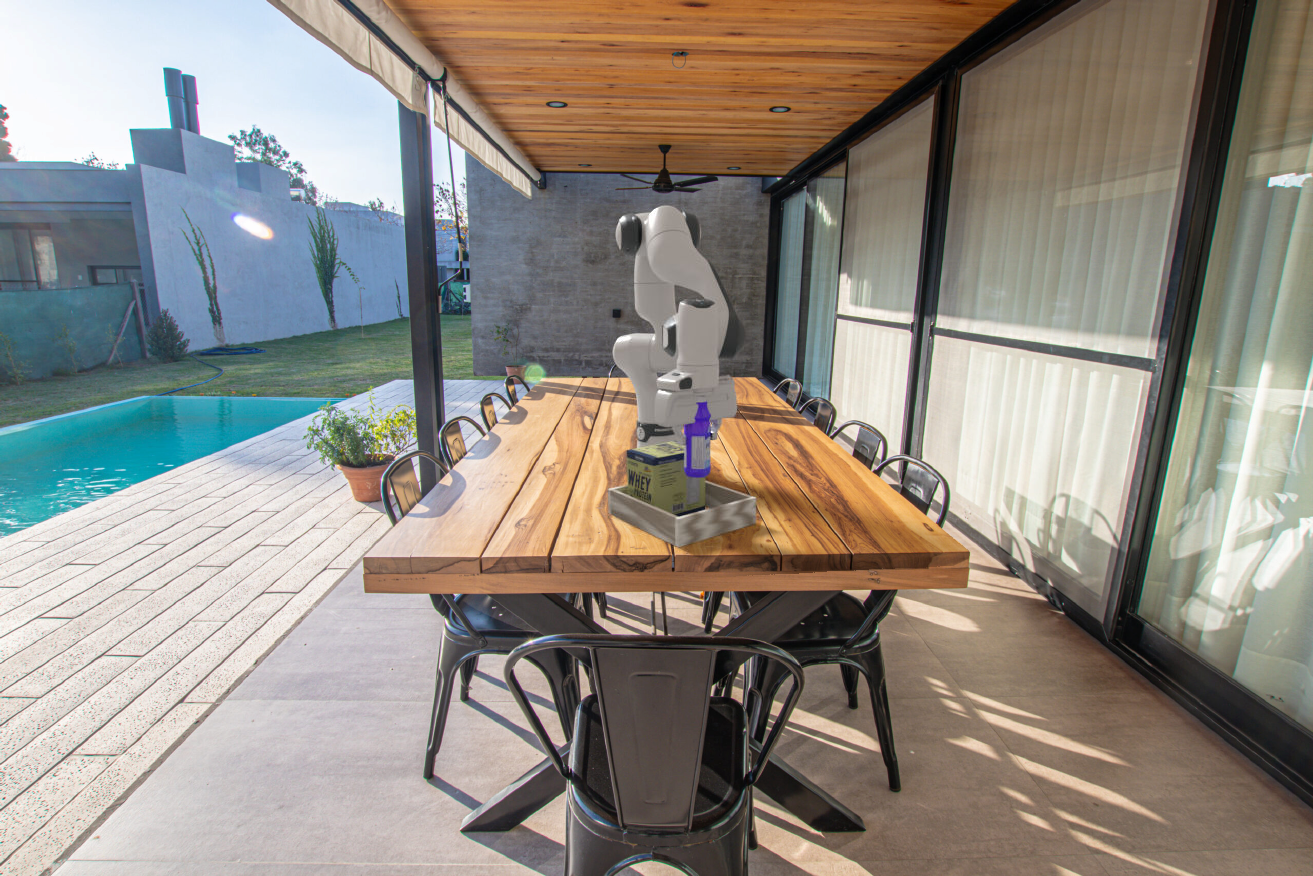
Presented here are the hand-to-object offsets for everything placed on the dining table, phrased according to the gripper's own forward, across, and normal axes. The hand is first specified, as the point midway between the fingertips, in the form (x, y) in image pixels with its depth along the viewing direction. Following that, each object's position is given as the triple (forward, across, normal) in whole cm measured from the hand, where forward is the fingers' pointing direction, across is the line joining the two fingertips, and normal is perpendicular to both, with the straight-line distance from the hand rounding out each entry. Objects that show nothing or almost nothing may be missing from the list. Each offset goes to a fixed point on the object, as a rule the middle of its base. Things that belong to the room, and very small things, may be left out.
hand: (697, 442), depth 137 cm
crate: (+19, 0, -6) cm, 20 cm away
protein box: (+19, 0, -11) cm, 22 cm away
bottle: (+7, 0, 0) cm, 7 cm away
